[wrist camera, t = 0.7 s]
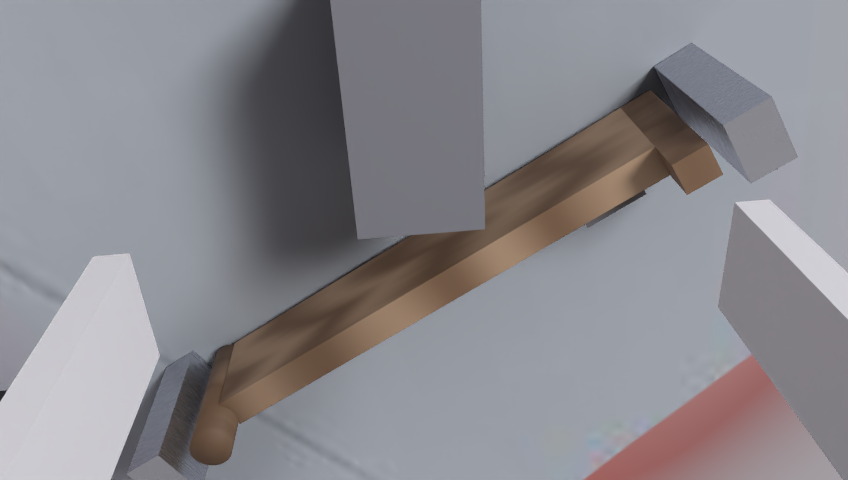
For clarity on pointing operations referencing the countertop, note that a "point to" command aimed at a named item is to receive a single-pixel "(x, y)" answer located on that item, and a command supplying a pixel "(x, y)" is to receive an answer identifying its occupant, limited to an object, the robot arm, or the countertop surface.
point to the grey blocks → (694, 103)
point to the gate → (450, 262)
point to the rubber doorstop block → (412, 114)
